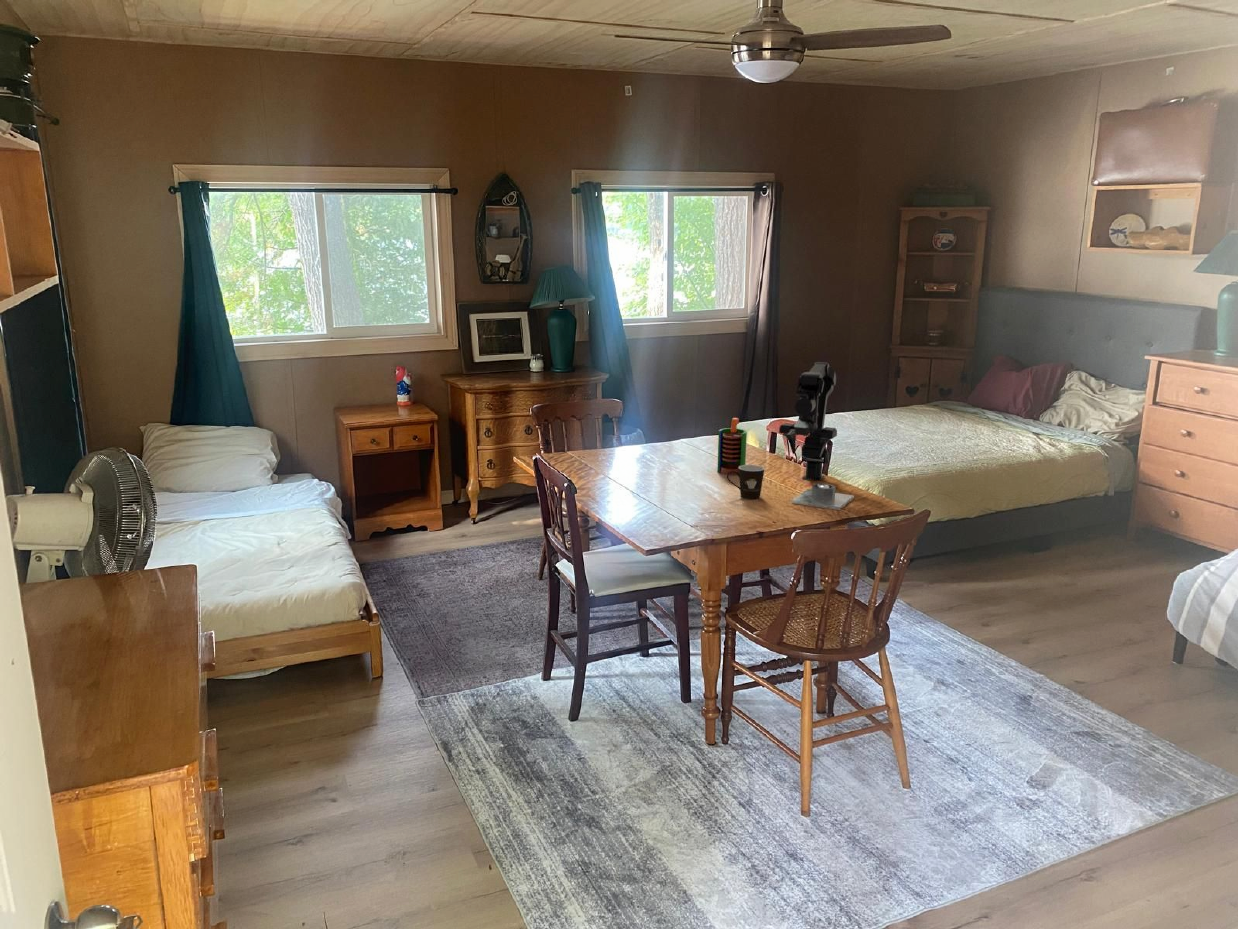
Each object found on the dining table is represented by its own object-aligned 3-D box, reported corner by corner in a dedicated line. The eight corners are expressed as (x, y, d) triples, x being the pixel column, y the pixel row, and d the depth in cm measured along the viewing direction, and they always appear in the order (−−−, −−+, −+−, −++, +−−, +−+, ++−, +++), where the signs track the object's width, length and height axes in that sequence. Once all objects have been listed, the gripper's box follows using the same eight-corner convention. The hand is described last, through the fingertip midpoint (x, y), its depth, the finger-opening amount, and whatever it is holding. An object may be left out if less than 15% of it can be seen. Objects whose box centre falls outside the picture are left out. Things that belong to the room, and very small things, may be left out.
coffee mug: (767, 495, 317) (768, 467, 314) (757, 501, 310) (758, 472, 307) (735, 490, 322) (736, 462, 320) (724, 496, 315) (725, 467, 313)
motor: (716, 474, 345) (717, 420, 340) (719, 468, 353) (721, 416, 348) (743, 476, 342) (746, 422, 338) (746, 470, 351) (748, 417, 346)
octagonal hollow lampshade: (816, 493, 316) (816, 482, 315) (836, 496, 312) (837, 485, 311) (809, 498, 310) (810, 487, 309) (830, 501, 306) (831, 490, 306)
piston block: (807, 491, 322) (808, 477, 321) (853, 498, 314) (854, 483, 313) (791, 503, 308) (792, 488, 307) (839, 510, 301) (840, 495, 300)
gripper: (774, 411, 316) (772, 456, 320) (828, 417, 308) (825, 463, 311) (785, 406, 326) (783, 450, 330) (838, 411, 317) (835, 456, 321)
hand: (806, 455), depth 323 cm, fingers open, 9 cm apart
